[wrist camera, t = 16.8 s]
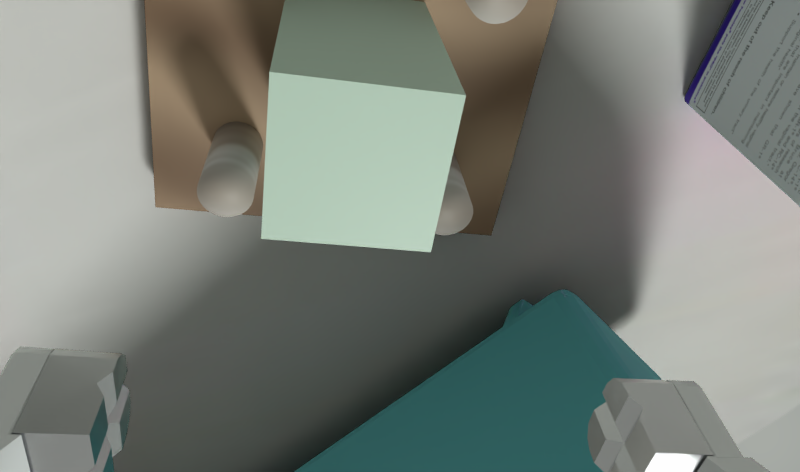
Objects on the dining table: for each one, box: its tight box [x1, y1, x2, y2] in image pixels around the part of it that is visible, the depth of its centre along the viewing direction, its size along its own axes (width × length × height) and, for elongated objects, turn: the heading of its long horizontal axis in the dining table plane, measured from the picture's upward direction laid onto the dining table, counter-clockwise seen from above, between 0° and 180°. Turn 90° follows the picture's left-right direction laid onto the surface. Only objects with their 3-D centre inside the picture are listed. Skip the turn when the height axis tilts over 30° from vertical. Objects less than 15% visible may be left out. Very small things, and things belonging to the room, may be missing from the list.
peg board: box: [144, 0, 557, 235], centre depth 24 cm, size 15×15×6 cm
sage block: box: [261, 0, 466, 252], centre depth 22 cm, size 5×5×9 cm
